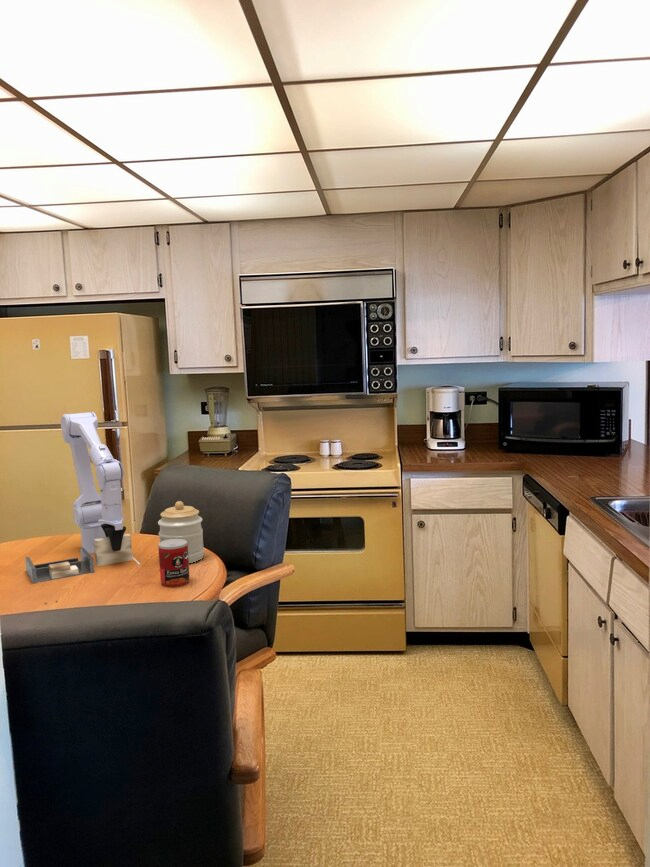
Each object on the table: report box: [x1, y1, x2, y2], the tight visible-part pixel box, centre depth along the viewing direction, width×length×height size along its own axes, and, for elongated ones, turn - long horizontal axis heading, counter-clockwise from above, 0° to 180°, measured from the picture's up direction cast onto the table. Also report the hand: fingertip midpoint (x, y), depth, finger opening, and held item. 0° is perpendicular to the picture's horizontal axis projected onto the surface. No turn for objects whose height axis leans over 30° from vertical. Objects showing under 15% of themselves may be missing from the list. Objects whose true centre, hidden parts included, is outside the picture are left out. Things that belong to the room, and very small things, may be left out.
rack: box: [24, 547, 95, 584], centre depth 194 cm, size 16×13×5 cm
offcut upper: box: [49, 562, 71, 573], centre depth 191 cm, size 5×3×2 cm
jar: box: [157, 500, 205, 564], centre depth 205 cm, size 13×13×18 cm
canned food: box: [158, 539, 190, 588], centre depth 184 cm, size 8×8×11 cm
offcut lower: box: [49, 565, 79, 579], centre depth 191 cm, size 7×4×2 cm, turn 120°
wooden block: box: [94, 533, 133, 567], centre depth 201 cm, size 10×3×8 cm, turn 121°
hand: (114, 548), depth 202 cm, fingers open, 4 cm apart
